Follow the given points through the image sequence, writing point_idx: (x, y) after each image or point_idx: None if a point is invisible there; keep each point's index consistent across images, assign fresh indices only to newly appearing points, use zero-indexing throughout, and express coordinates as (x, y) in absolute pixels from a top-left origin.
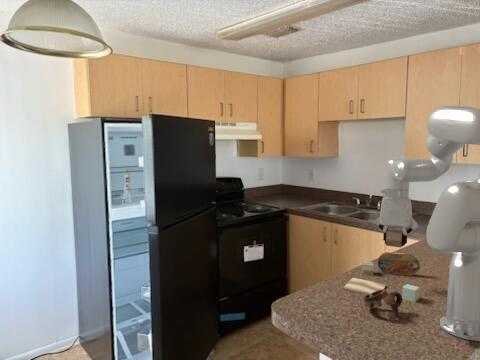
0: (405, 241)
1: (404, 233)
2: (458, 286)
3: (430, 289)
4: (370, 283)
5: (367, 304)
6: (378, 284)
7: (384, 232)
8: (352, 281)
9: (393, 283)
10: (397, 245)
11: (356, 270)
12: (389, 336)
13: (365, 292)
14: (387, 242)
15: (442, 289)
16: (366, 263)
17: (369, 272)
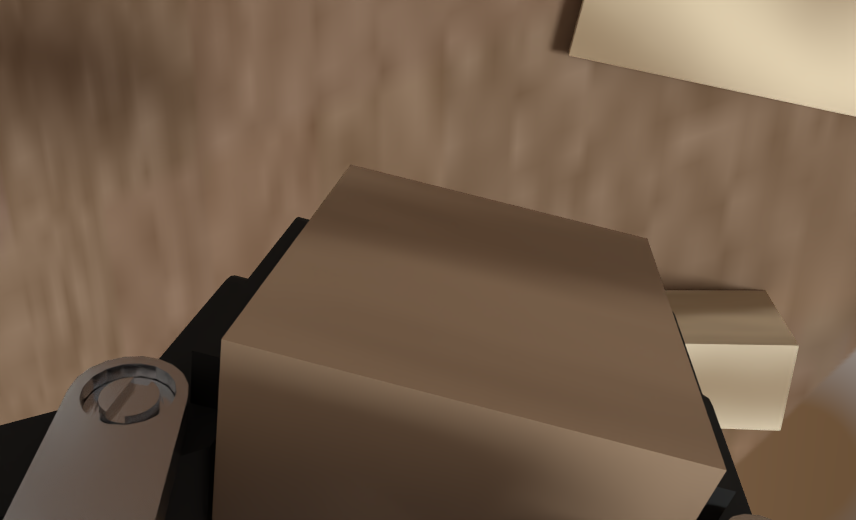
0: (230, 294)
1: (151, 403)
2: None
3: (206, 114)
4: (735, 13)
5: None
6: (650, 16)
7: (751, 517)
8: None
9: (496, 147)
10: (410, 193)
11: (807, 364)
12: None
13: None
14: (626, 265)
15: (127, 149)
16: (750, 383)
17: (704, 301)
